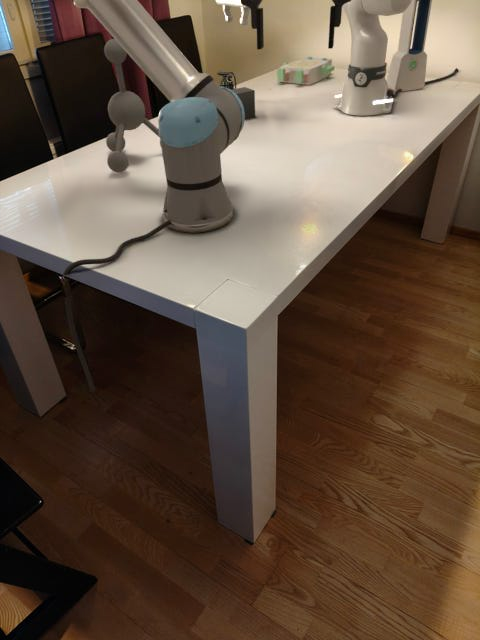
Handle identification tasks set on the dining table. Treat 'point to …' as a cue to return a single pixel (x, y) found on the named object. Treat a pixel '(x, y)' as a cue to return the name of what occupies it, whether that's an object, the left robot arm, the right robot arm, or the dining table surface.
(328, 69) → the decorative block
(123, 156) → the molecular model
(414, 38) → the electronic device
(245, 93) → the box
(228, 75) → the grenade
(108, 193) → the dining table surface
